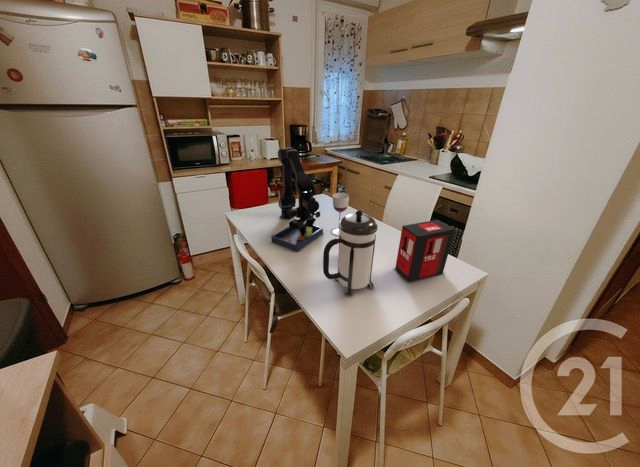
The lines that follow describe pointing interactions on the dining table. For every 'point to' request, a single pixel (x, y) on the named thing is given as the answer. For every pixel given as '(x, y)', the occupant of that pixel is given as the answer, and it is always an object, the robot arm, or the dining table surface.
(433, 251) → the cleaning product box
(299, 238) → the orange round disc
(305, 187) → the robot arm
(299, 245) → the tray
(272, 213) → the dining table surface
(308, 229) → the sponge
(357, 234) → the coffee press
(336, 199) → the wineglass
